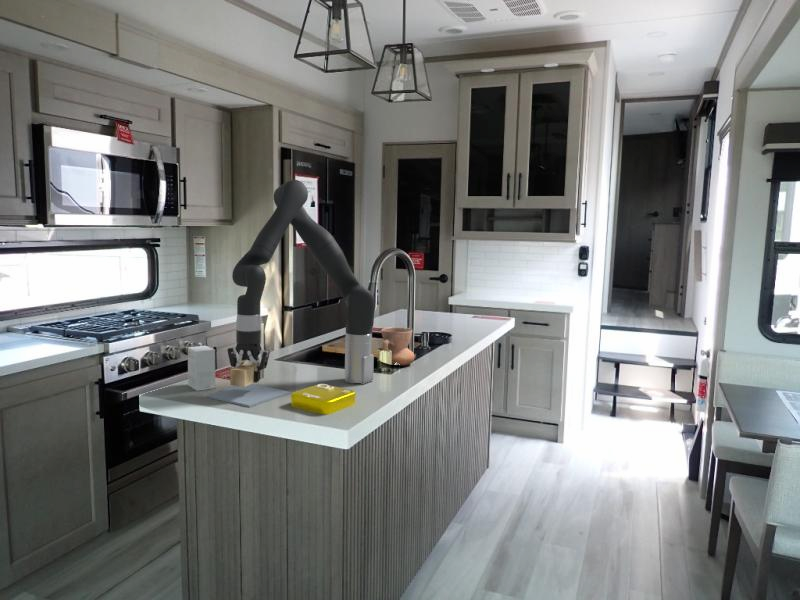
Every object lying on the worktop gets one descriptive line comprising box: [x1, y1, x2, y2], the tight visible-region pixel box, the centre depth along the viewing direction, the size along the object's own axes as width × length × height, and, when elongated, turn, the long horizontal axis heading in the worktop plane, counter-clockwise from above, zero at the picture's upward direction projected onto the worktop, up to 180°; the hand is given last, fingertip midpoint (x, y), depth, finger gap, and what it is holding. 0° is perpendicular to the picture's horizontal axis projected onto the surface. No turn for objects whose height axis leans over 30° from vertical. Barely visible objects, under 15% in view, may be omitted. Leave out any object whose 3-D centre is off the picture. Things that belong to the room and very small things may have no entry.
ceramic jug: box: [378, 326, 416, 367], centre depth 235 cm, size 18×14×14 cm
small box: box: [187, 345, 216, 392], centre depth 194 cm, size 8×6×13 cm
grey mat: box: [206, 383, 291, 408], centre depth 187 cm, size 18×18×1 cm
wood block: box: [229, 360, 265, 387], centre depth 186 cm, size 5×5×12 cm
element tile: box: [290, 383, 356, 416], centre depth 180 cm, size 15×15×5 cm
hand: (248, 380), depth 187 cm, fingers closed on wood block, 5 cm apart
